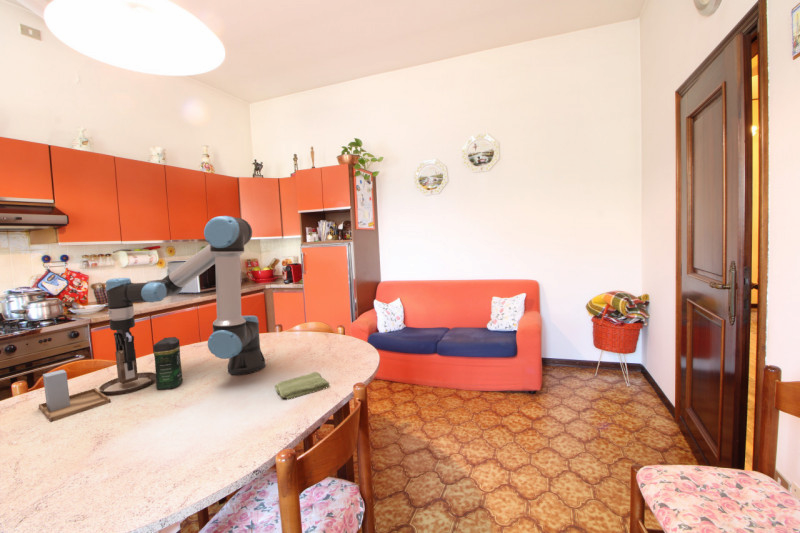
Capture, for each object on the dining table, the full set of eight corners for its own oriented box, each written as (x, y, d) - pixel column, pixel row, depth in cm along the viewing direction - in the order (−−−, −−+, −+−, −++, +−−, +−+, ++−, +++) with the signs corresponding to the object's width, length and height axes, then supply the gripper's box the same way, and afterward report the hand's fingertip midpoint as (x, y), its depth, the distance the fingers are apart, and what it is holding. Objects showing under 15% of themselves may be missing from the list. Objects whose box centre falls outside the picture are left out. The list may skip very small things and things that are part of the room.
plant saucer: (87, 401, 125) (86, 392, 125) (119, 381, 143) (118, 374, 142) (140, 396, 128) (140, 388, 128) (165, 377, 145) (165, 370, 145)
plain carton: (70, 405, 120) (66, 371, 119) (50, 411, 116) (45, 377, 115) (66, 402, 122) (62, 369, 121) (47, 408, 118) (42, 374, 117)
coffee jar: (178, 388, 131) (173, 341, 130) (153, 392, 129) (149, 343, 127) (185, 379, 141) (181, 334, 139) (163, 382, 138) (158, 336, 137)
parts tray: (110, 403, 121) (110, 399, 121) (51, 422, 109) (50, 418, 109) (95, 392, 131) (95, 388, 131) (39, 408, 119) (38, 404, 118)
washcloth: (273, 389, 129) (272, 381, 129) (318, 377, 139) (318, 369, 138) (282, 402, 118) (281, 393, 118) (331, 389, 128) (330, 380, 127)
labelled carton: (138, 379, 136) (135, 349, 135) (122, 384, 132) (119, 353, 131) (133, 377, 139) (130, 347, 137) (118, 381, 134) (115, 351, 133)
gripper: (102, 317, 135) (108, 375, 137) (118, 323, 125) (124, 385, 127) (125, 313, 141) (130, 369, 143) (142, 318, 131) (148, 378, 133)
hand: (127, 376), depth 135 cm, fingers closed on labelled carton, 4 cm apart
